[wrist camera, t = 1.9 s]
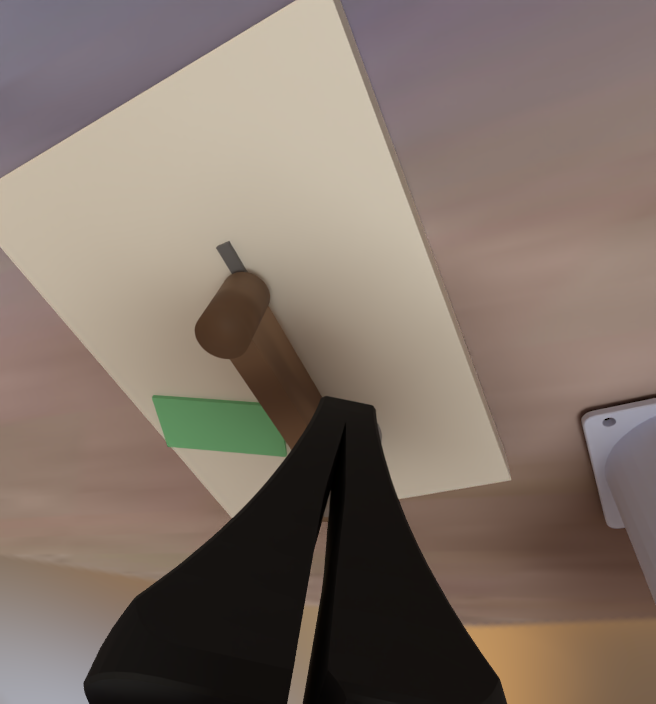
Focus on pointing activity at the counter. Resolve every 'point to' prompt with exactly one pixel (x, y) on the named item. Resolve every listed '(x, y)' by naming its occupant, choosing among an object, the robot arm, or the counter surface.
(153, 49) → the counter surface
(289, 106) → the dial board
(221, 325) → the wooden crank handle
